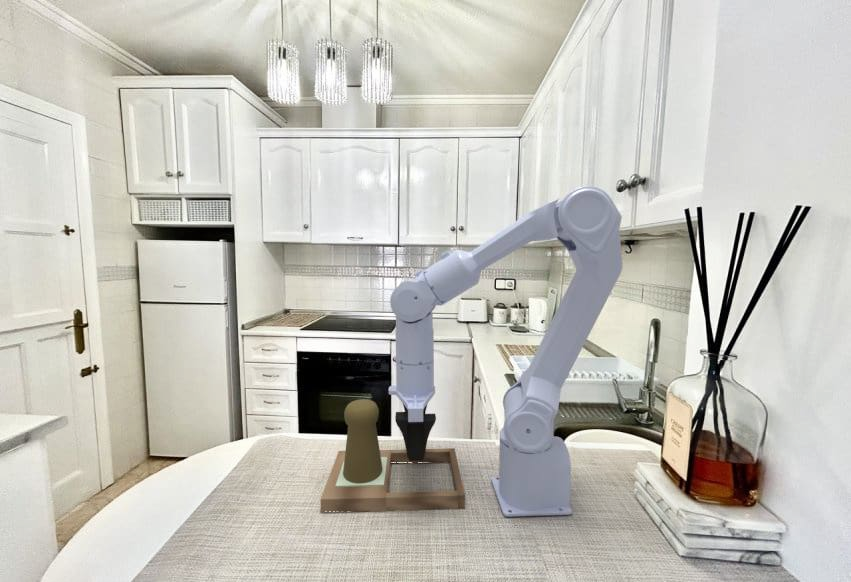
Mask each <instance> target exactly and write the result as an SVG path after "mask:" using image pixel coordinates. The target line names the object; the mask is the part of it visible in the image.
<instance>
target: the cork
mask: <svg viewBox="0 0 851 582" xmlns="http://www.w3.org/2000/svg"><path fill="white" fill-rule="evenodd" d="M343 412H344V413H343V418H344V422H345V424H346V425H347V434H346V442H345V450H344V451H345V460H344V469H343V476H344V478H345V479H346V480H347V481H349V482H351V483H356V484H362V483H368V482H371V481H373V480H375V479H377V478H378V477H379V476H380V475H381V473H382V470H383V468H382V462H381V455H380V450H381V449H380V444H379V437H378V431H377V425H376V423H377V422H378V420H379V415H380V409H379V407H378V405H377V403H376V402H375V401H373V400H371V399H365V398H364V399H361V398H360V399H356V400H353V401H350V402H349V403H348V404H347V405H346V407H345V409H344V411H343Z"/></svg>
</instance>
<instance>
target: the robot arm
mask: <svg viewBox="0 0 851 582" xmlns="http://www.w3.org/2000/svg"><path fill="white" fill-rule="evenodd" d="M559 200H560V197H558V198H556V199H553V200H551V201H549V202H547V203H546V204H542V205H541V206H539V207H538V208H535V209H534V210H532V211H529V212H528V213H526V214H525V215H523V216H522V217H520V218H518V219H517V220H516V221H514V222H512V223H511V224H510V225H509V226H507V227H505V228H504V229H502V230H500V231H499V232H498V233H496V234H495V235H493V236H492V237H491V238H489V239H488V240H486V241H485V242H483V243H482V244H480V245H479V246H477V247H476V248H474V249H472V251H465V250H461V249H456V250H453V251H452V252H451V251H450V250H446V251H445V252H443V253H442V254H440V257H441V259H440V260H438V261H437V262H435V263H433V264H432V265H431V266H428V268H426V269H424V270H423V271H422V270H421V269H419V270H417V271H416V272H414V273H413V275H414V277H415V279H413V280H410V279H409V280H404V281H401V282H400V283H399V284H398V286H396V287H395V288H394V290H393V291H392V293H391V295H390V297H389V298H390V301H389V303H390V308H391V311H392V313H393V315H394V316H395V376H396V377H395V378H396V380H395V381H396V383H395V384H396V385H390V386H389V387H388V395H390V396H396V397H397V398H398V399H399V401H400V402H401V404H402V407H403V409H404V411H396V412H395V416H394V417H395V423H396V425H397V427H398V429H399V431H400V433H401V434H402V437H403V441H404V446H405V449H406V452H407V456H408V459H409V461H422V460H423V459H424V455H425V451H426V449H427V445H428V439H429V437H430V433H431V431H432V429H433V427H434V425H435V424H436V421H437V416H436V413H426V412H427V411H426V410H427V408H428V407H427V406H428V403H429V402H430V401H431V400H432V398H433V397H434V396H435V394H436V386H435V382H434V380H435V376H434V375H435V374H434V373H435V371H434V370H435V368H434V367H435V366H434V364H435V363H434V362H435V361H434V356H435V354H434V353H435V352H434V350H435V349H434V348H435V347H434V343H435V342H434V338H435V337H434V336H435V335H434V333H435V332H434V328H433V320H434V319H433V311H434V309H435V308H436V307H437V306H439V307H440V306H443V305H446V304H447V303H448V302H451V301H452V300H453V299H455V298H457V297H458V296H461V294H463V293H465V292H466V291H468V290H470V289H471V288H473V287H475V286H477V285H478V284H479V282H480V278H481V274H482V271H483V270H485V269H486V268H488V267H489V266H491V265H493V264H495V263H497V262H498V261H500V260H502V259H503V258H505V257H507V256H509V255H510V254H512V253H514V252H516V251H517V250H519V249H521V248H523V247H524V246H526V245H528V244H529V243H532V242H540V241H541V242H543V241H550V240H553V239H557V240H558V242H560V243H561V244H562V245H563V246H564V248H566V249H567V252H568V254H569V256H570V258H571V260H572V262H573V265H574V267H575V269H576V270H575V272H574V275H573V276H572V278H571V280H570V283H569V285H568V287H567V289H566V291H565V293H564V295H563V297H562V299H561V301H560V302H559V306H558V307H557V309H556V311H555V313H554V315H553V317H552V318H551V319H552V320H551V321H550V324H549V325H548V327H547V329H546V332H545V334H544V336H543V338H542V339H541V342H540V344H539V345H538V347H537V350H536V352H535V354H534V356H533V357H532V360H531V362H530V364H529V365H528V368H526V370H524V371H523V372H522V373H521V375H520V377H519V379H518V380H517V381H516V383H514V385H511V386H510V387H509V388H508V389H507V390H506V392H505V393H504V395H503V399H502V404H503V411H504V413H503V415H504V421H503V427H502V428H501V429H500V431H499V458H498V460H499V461H498V462H499V464H498V466H499V468H498V469H499V470H498V473H499V474H498V476H492V477H491V479H490V481H491V484H492V486H493V490H494V493H495V495H496V498H497V501H498V503H499V506H500V509H501V512H502V515H503V516H505V517H533V516H535V517H536V516H564V515H565V516H566V515H568V516H569V515H572V512H573V511H572V509H571V506H570V503H571V502H570V501H571V479H572V478H571V477H572V463H571V456H570V452H569V450H568V446H567V445H566V443H565V441H564V439H562V438H561V437H559V436H554V420H555V417H556V416H557V413H558V411H559V406H560V398H561V392H562V388H563V386H564V384H565V382H566V380H567V379H568V376H569V374H570V372H571V370H572V368H573V366H574V365H575V362H576V361H577V359H578V357H579V355H580V353H581V351H582V349H583V347H584V345H585V344H586V341H587V339H588V338H589V336H590V334H591V331H592V330H593V328H594V326H595V324H596V322H597V320H598V318H599V316H600V314H601V312H602V311H603V308H604V307H605V304H606V303H607V300H609V297H610V295H611V293H612V291H613V289H614V287H615V285H616V284H617V281H619V278H620V276H621V273H622V271H623V257H622V246H621V245H622V244H621V243H622V242H621V233H620V229H621V224H622V219H623V218H622V217H623V216H622V214H621V212H620V210H619V209H618V208H617V206H616V203H614V201H613V199H612V197H611V196H610V195H609V194H608V193H607V192H606V191H605V190H603V189H601V188H600V187H597V186H591V185H587V186H586V185H585V186H581V187H577V188H574V189H573V190H571V191H570V192H569V193H568V194H566V195H565V196H564V198H563V199H562V200H560V201H559Z"/></svg>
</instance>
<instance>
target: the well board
mask: <svg viewBox="0 0 851 582" xmlns="http://www.w3.org/2000/svg"><path fill="white" fill-rule="evenodd" d="M380 455H381V462H382V468H383V470H382V473H381V475H380V476H379V477H378V478H377V479H375V480H373V481H371V482H368V483H362V484H356V483H351V482H349V481H347V480H346V479H345V478H344V476H343V469H344V460H345V450H339V451H338V452H337V455H336V458H335V460H334V463H333V466H332V468H331V471H330V474H329V477H328V479H327V481H326V484H325V487H324V489H323V492H322V494H321V497H320V500H319V501H320V513H321V512H325V511H327V512H329V511H331V512H333V511H335V512H336V511H339V512H338V513H342V512H341V511H344V512H343V513H348V512H347V511H370V512H384V511H383V510H392V511H391V512H394V511H396V510H404V511H429V510H430V511H431V510H432V511H434V509H437V510H460V509H461V510H463V509H464V510H465V509H466V506H465V505H466V493H465V489H464V484H463V481H462V476H461V475H462V474H461V471H460V467H459V462H458V458H457V453H456V448H454V447H453V448H452V447H451V448H450V447H449V448H448V447H447V448H444V447H443V448H426V451H425V455H424V459H423V460H422V461H409V459H408V456H407V452H406V448H405V449H380ZM391 462H396V463H397V462H407V463H408V462H412V463H415V464H419V463H418V462H450V463H449V467H451V468H450V473H452V474H451V478H452V484H453V490H438V491H437V490H435V491H433V490H432V491H401V492H397V491H395V492H389V489H390V480H389V478H390V477H391V470H390V468H391V467H392V464H391ZM391 469H392V468H391ZM390 479H391V478H390ZM388 488H389V489H388ZM396 512H397V511H396Z"/></svg>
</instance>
